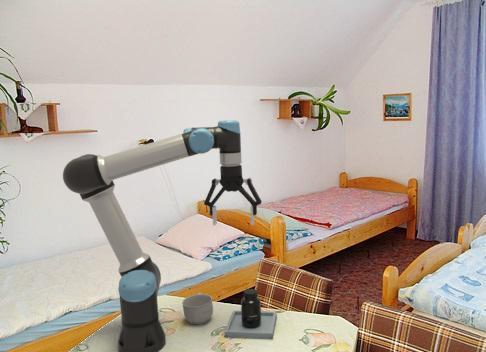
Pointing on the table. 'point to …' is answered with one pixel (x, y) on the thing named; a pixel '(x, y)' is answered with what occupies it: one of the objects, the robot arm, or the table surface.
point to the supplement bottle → (251, 309)
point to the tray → (261, 332)
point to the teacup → (198, 308)
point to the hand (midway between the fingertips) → (233, 224)
